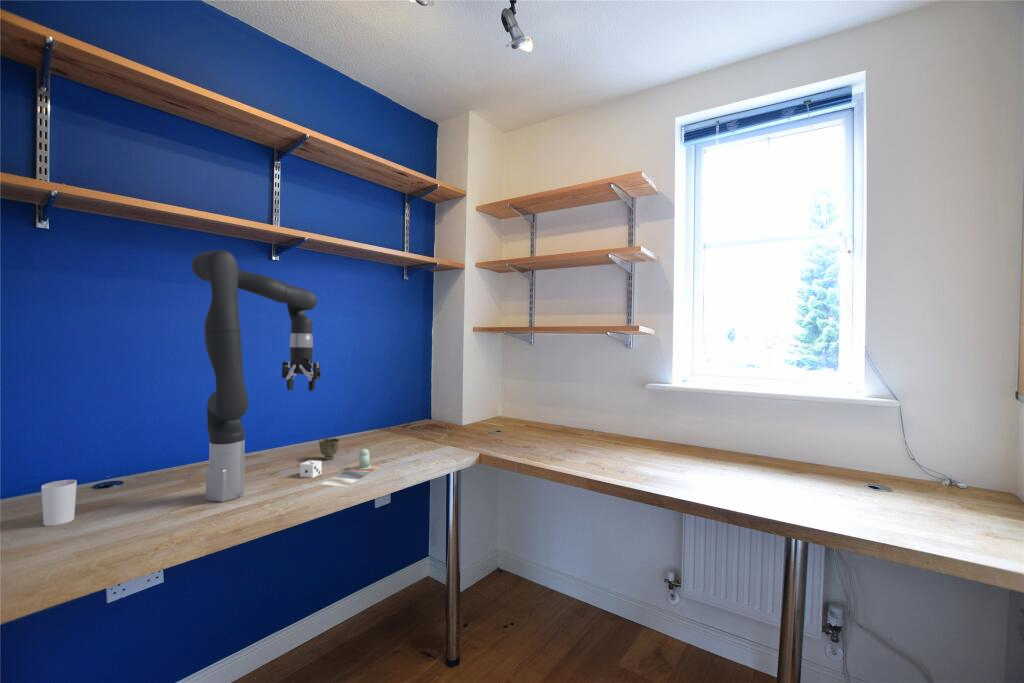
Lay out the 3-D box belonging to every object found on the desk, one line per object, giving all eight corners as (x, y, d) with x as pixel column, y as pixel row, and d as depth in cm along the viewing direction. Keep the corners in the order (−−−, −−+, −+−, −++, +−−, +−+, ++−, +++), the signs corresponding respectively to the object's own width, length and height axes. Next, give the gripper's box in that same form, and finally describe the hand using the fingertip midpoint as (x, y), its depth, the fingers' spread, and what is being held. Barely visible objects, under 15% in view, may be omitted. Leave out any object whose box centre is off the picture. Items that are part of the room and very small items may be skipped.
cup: (331, 462, 177) (331, 442, 177) (314, 460, 179) (315, 440, 179) (342, 457, 184) (342, 438, 184) (326, 456, 186) (326, 436, 186)
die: (312, 479, 157) (312, 464, 156) (299, 478, 158) (300, 463, 157) (321, 474, 161) (321, 460, 161) (309, 473, 162) (309, 459, 162)
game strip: (346, 488, 147) (346, 487, 147) (316, 485, 149) (316, 484, 149) (383, 467, 172) (383, 466, 172) (357, 464, 174) (357, 463, 174)
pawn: (366, 470, 165) (367, 451, 165) (354, 469, 166) (354, 450, 166) (373, 466, 170) (374, 447, 170) (361, 465, 172) (361, 446, 172)
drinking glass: (83, 515, 122) (83, 479, 122) (62, 526, 116) (63, 487, 116) (55, 516, 121) (55, 480, 121) (33, 527, 115) (33, 488, 114)
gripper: (276, 345, 160) (276, 390, 160) (312, 346, 157) (311, 392, 157) (291, 345, 167) (290, 388, 167) (325, 346, 164) (324, 390, 165)
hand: (300, 390), depth 162 cm, fingers open, 8 cm apart
